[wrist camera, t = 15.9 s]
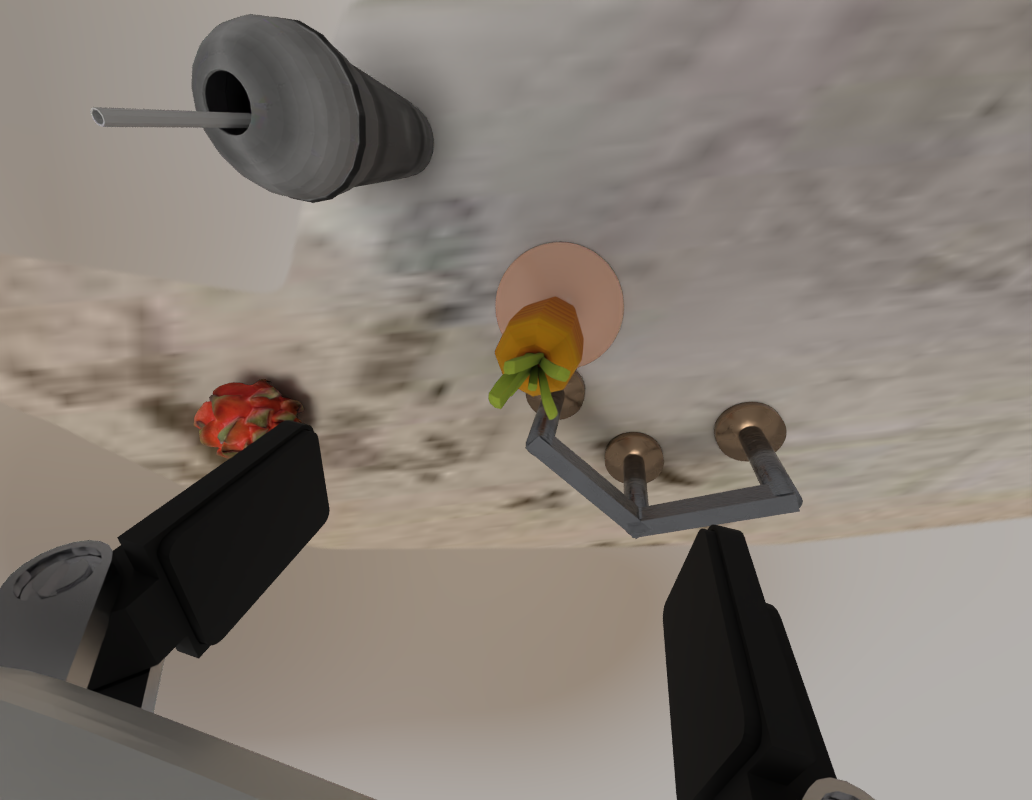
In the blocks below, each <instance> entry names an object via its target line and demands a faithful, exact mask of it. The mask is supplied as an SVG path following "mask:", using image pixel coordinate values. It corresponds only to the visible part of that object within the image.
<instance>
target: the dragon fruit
mask: <svg viewBox="0 0 1032 800" xmlns="http://www.w3.org/2000/svg"><path fill="white" fill-rule="evenodd" d="M267 382H271V381H269V380H266V379H261V380H259V381H258V382H256V383H255V384H253V385H245V384H243V383H235V382H233V383H228V384H224V385H222V386H219V387H218V388H216V389H215V390H214V391H213V395H211V396H210V397H209V398H210V402H205V403H203V405H202V407H201V408H200V409H199V410H198V412H197V413H196V415H195V418H194V426H195V427H197V428H199V429H200V431H199V434H200V442H201V443H202V444H204V445H206V446H210V447H219V449H218V450H217V455H219V456H222V457H225V458H229V459H230V458H231V457H233V456H234V455H236V454H237V453H238V452H240V451H241V450H243V449H244V448H246V447H247V446H248V445H250V444H251V443H253V442H254V441H256V440H257V439H258V438H260V437H261V436H263V435H264V434H266V433H267V432H268V431H270V430H271V429H273V428H274V427H276V426H277V425H278V424H280V423H281V422H283V421H285V420H291V421H295V422H299V423H302V422H301V420H299V419H298V418H296V417H297V413H300V412H303V411H304V408H303V405H302V404H301V403H300V402H299V401H296V400H291V399H289V398H283V397H282V395H281V394H280V392H279V391H277V390H276V388H275V387H273V386H271V385H270V384H269V383H267Z"/></svg>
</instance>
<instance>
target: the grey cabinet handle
mask: <svg viewBox="0 0 1032 800" xmlns="http://www.w3.org/2000/svg"><path fill="white" fill-rule="evenodd" d="M584 394H585V385H584V382H583V379H582V377H581V376H580V374H579V373H578V372H577V371H576V370H575V372H574V374H573V375H572V377H571V379H570V380H569V382H568V384H567V385H566V387H565V388H564V389H563V390H560V391H555V392H551V396H552V399H553V401H554V404H555V406H556V409H557V412H558V415H557V416H556V417H555V418H554V419H552V420H549V418H548V416H547V414H546V412H545V409H544V407H543V404H542V398H541V395H538V396H531V395H529V394H527V393H526V398H527V401H528V403H529V405H530V406H531V408H532V409H533V410H534V411H535V412H536V416H535V419H534V421H533V424H532V427H531V430H530V433H529V436H528V438H527V441H526V449H527V450H528V451H529V452H530V453H531V454H532V455H534V456H536V457H537V458H538V459H539V460H540V461H542V462H543V463H544V464H545V465H547V466H548V467H549V468H550V469H551V470H553V471H554V472H555V473H556V474H558V475H559V476H560V477H561V478H562V479H564V480H565V481H566V482H567V483H569V484H570V485H571V486H572V487H573V488H575V489H576V490H577V491H578V492H579V493H581V494H582V495H583V496H584V497H586V498H587V499H588V500H589V501H590V502H592V503H593V504H594V505H595V506H597V507H598V508H599V509H600V510H601V511H603V512H604V513H605V514H606V515H608V516H609V517H610V518H611V519H612V520H614V521H615V522H616V523H617V524H618V525H620V526H621V527H622V528H623V529H625V530H626V532H627V533H628V534H630V535H632V538H636V539H637V538H639V537H643V536H649V535H655V534H661V533H668V532H674V531H680V530H686V529H693V528H699V527H705V526H711V525H712V524H714V525H717V524H724V523H730V522H736V521H742V520H749V519H755V518H761V517H767V516H773V515H780V514H786V513H792V512H798V511H800V510H799V508H800V507H801V505H802V502H803V501H802V497H801V496H800V494H799V492H798V491H797V489H796V487H795V486H794V484H793V482H792V480H791V479H790V477H789V475H788V474H787V472H786V470H785V468H784V467H783V465H782V463H781V462H780V460H779V458H778V457H777V455H776V453H775V452H776V451H777V450H778V449H779V448H780V447H781V446H782V444H783V443H784V441H785V438H786V426H785V424H784V422H783V420H782V419H781V417H780V416H779V414H778V413H777V412H776V411H775V410H774V409H773V408H771V407H770V406H768V405H765V404H762V403H757V402H746V403H741V404H737V405H735V406H732V407H730V408H729V409H727V410H726V411H724V412H723V413H722V414H721V415H720V417H719V418H718V419H717V421H716V424H715V427H714V435H715V438H716V441H717V444H718V446H719V448H720V449H721V451H722V452H723V453H724V454H726V455H727V456H729V457H730V458H733V459H735V460H739V461H749V462H750V464H751V466H752V468H753V470H754V472H755V474H756V476H757V479H758V481H759V483H760V485H759V486H753V487H748V488H742V489H737V490H732V491H726V492H721V493H716V494H710V495H705V496H700V497H694V498H689V499H684V500H678V501H673V502H668V503H662V504H657V505H651V506H649V504H648V494H647V483H648V482H650V481H652V480H654V479H655V478H656V477H657V476H658V475H659V474H660V473H661V471H662V469H663V465H664V459H663V453H662V449H661V447H660V445H659V444H658V443H657V441H656V440H654V439H653V438H652V437H650V436H648V435H646V434H643V433H638V432H629V433H624V434H621V435H619V436H617V437H615V438H614V439H613V440H612V441H610V443H609V444H608V446H607V448H606V452H605V465H606V468H607V471H608V472H609V474H610V475H611V476H612V477H613V478H615V479H616V480H618V481H620V482H622V483H624V494H623V493H622V492H621V491H619V490H618V489H617V488H616V487H615V486H613V485H612V484H611V483H610V482H609V481H607V480H606V479H605V478H604V477H603V476H601V475H600V474H599V473H598V472H597V471H595V470H594V469H593V468H592V467H591V466H590V465H588V464H587V463H586V462H585V461H584V460H582V459H581V458H580V457H579V456H578V455H576V454H575V453H574V452H573V451H572V450H570V449H569V448H568V447H567V446H566V445H564V444H563V443H562V442H561V441H560V440H558V439H557V438H556V437H555V434H556V430H557V426H558V422H559V420H561V419H566V418H568V417H571V416H572V415H574V414H575V413H576V412H577V411H578V410H579V409H580V408H581V406H582V404H583V401H584Z"/></svg>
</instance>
